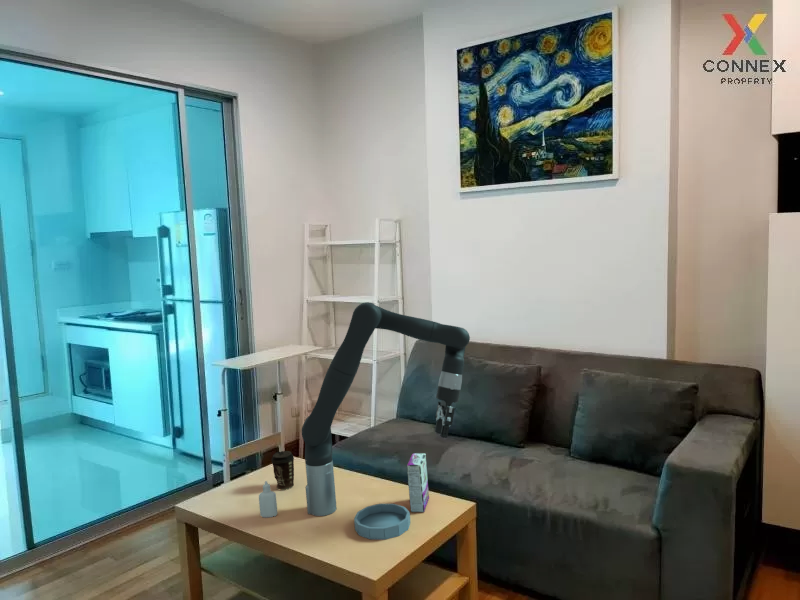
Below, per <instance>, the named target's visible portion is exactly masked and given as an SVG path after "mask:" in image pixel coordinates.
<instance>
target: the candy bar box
mask: <svg viewBox="0 0 800 600" xmlns="http://www.w3.org/2000/svg"><path fill="white" fill-rule="evenodd" d="M426 455H427V454H426V453H420V452H419V453H418V452H417V453H416V452H414V453H412V454H411V456H410V458H409V459H408V463H407V465H406V472H407V485H408V495H409V496H408V497H409V506H410V512H411V513H425V511H426V508H427V505H428V503H429V499H430V494H429V492H430V491H429V481H428V467H427V456H426Z"/></svg>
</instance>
